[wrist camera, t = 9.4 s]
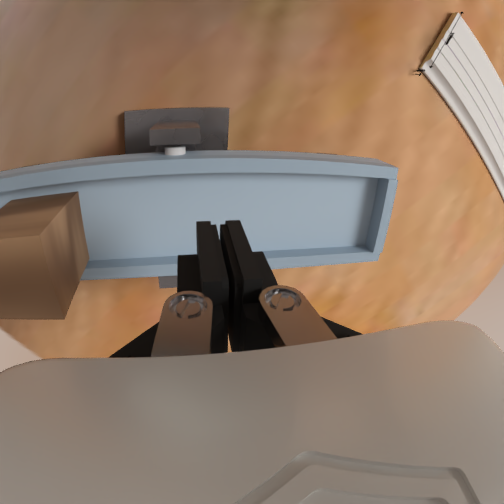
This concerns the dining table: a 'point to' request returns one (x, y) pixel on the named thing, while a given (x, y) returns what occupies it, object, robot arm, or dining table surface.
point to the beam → (218, 205)
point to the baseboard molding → (470, 91)
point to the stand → (176, 136)
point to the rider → (41, 255)
